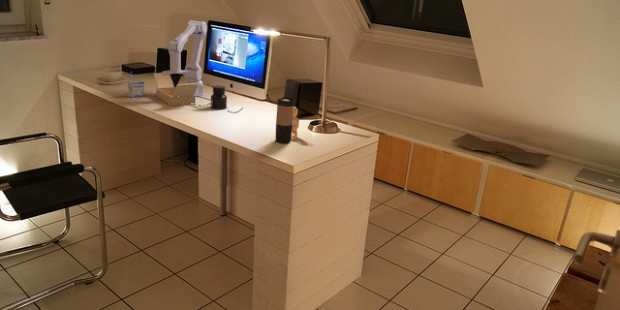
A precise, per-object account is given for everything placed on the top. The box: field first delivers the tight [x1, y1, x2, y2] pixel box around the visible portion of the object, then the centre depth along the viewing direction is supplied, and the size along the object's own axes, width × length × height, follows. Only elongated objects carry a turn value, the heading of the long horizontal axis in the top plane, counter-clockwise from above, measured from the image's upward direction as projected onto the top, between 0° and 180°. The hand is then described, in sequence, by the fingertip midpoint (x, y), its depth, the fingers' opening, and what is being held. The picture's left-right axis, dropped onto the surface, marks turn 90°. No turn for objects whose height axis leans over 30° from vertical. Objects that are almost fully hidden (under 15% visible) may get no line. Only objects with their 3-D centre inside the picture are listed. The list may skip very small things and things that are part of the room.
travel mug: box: [275, 97, 295, 144], centre depth 222 cm, size 8×8×20 cm
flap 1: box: [153, 72, 176, 89], centre depth 286 cm, size 10×12×1 cm
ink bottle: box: [210, 84, 228, 110], centre depth 270 cm, size 10×9×12 cm
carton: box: [156, 87, 196, 107], centre depth 278 cm, size 14×22×5 cm, turn 38°
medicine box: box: [127, 80, 145, 99], centre depth 278 cm, size 8×4×9 cm, turn 143°
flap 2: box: [173, 83, 199, 97], centre depth 265 cm, size 10×12×1 cm
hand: (175, 86), depth 276 cm, fingers closed
